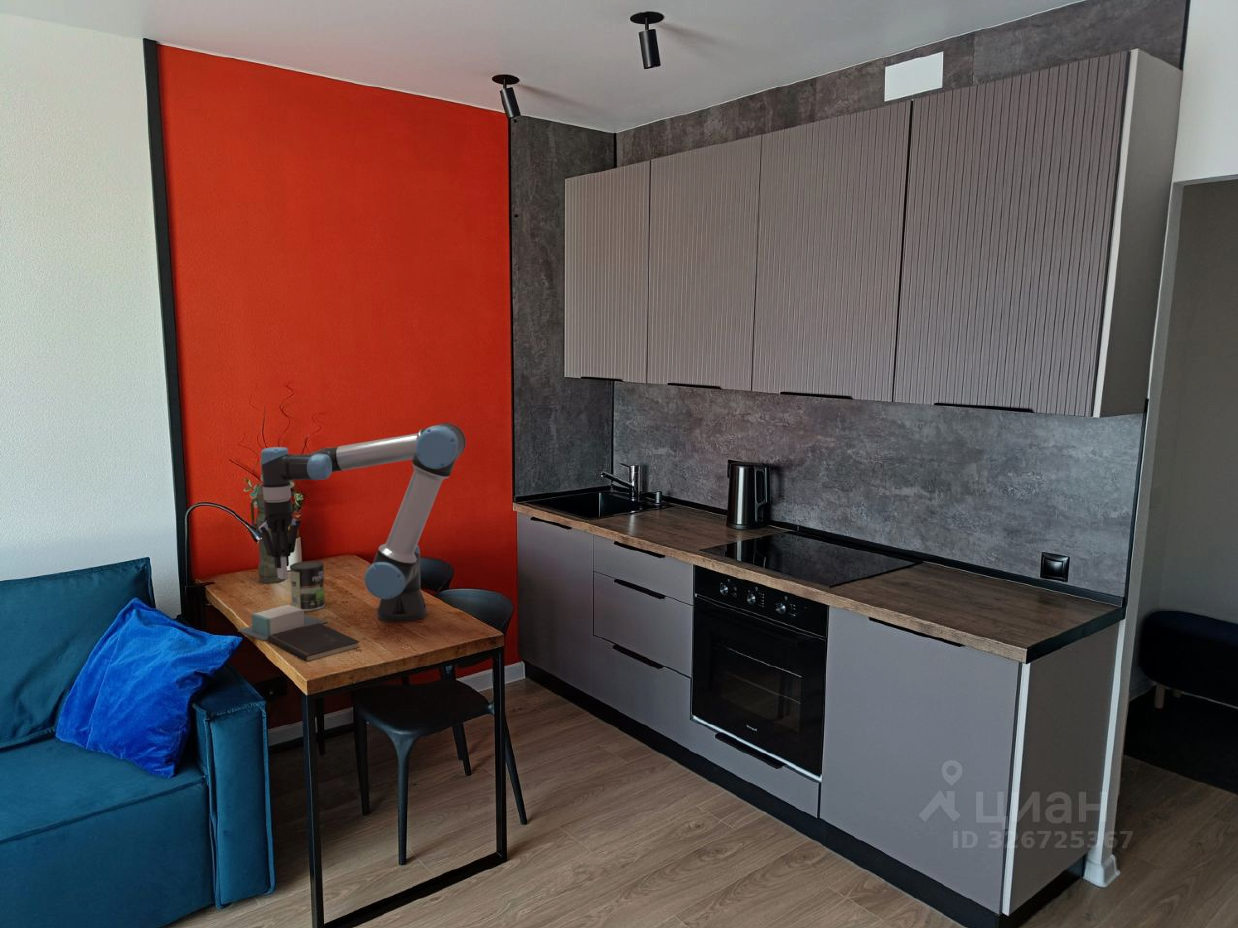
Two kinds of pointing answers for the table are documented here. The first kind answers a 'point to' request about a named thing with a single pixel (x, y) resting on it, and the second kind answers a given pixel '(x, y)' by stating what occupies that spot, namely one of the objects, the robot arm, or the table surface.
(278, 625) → the slab
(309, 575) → the coffee can
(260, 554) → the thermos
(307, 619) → the mat
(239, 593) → the table surface
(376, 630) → the table surface
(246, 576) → the table surface
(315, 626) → the hardcover book
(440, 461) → the robot arm
